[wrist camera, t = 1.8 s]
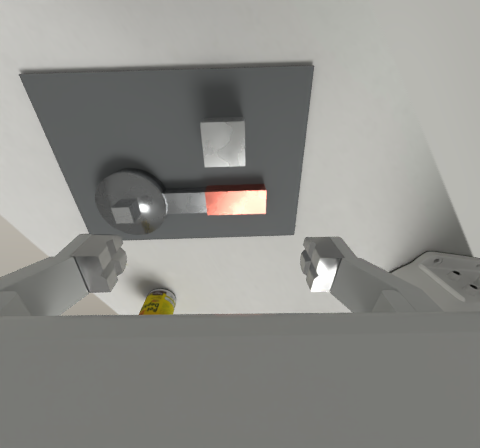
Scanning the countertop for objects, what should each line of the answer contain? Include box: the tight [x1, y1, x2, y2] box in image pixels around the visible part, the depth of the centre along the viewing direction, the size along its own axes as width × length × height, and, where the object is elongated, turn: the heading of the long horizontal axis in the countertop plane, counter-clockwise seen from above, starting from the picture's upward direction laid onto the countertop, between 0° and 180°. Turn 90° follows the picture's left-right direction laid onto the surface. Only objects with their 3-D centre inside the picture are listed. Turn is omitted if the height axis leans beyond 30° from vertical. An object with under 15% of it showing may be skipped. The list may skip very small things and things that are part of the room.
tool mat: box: [19, 66, 314, 240], centre depth 30 cm, size 32×22×1 cm
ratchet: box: [95, 168, 266, 235], centre depth 29 cm, size 22×9×5 cm, turn 91°
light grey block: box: [200, 117, 245, 167], centre depth 25 cm, size 4×4×6 cm
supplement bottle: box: [139, 289, 176, 315], centre depth 38 cm, size 6×6×10 cm
